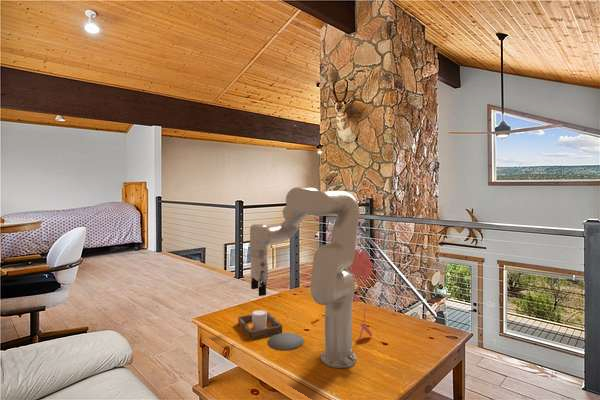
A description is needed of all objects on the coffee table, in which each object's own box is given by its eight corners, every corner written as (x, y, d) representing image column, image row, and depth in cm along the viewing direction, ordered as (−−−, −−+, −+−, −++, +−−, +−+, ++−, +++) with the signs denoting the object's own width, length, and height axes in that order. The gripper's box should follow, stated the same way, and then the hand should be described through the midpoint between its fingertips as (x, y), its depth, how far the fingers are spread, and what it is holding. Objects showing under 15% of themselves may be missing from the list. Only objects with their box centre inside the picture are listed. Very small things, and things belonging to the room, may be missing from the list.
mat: (309, 345, 131) (309, 344, 131) (276, 353, 125) (276, 352, 125) (294, 331, 143) (294, 330, 143) (263, 338, 137) (263, 337, 137)
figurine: (375, 348, 128) (376, 256, 127) (326, 327, 147) (327, 247, 147) (397, 337, 138) (399, 252, 138) (349, 319, 158) (350, 244, 157)
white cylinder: (248, 329, 146) (248, 313, 145) (257, 323, 152) (257, 308, 151) (261, 332, 142) (261, 316, 142) (270, 326, 148) (270, 311, 148)
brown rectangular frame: (283, 333, 142) (283, 326, 142) (250, 340, 136) (250, 332, 135) (267, 317, 158) (267, 311, 158) (237, 323, 152) (237, 317, 152)
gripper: (274, 256, 140) (274, 297, 141) (260, 248, 155) (259, 285, 156) (257, 258, 136) (256, 299, 137) (244, 250, 152) (244, 287, 153)
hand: (258, 292), depth 147 cm, fingers open, 9 cm apart
